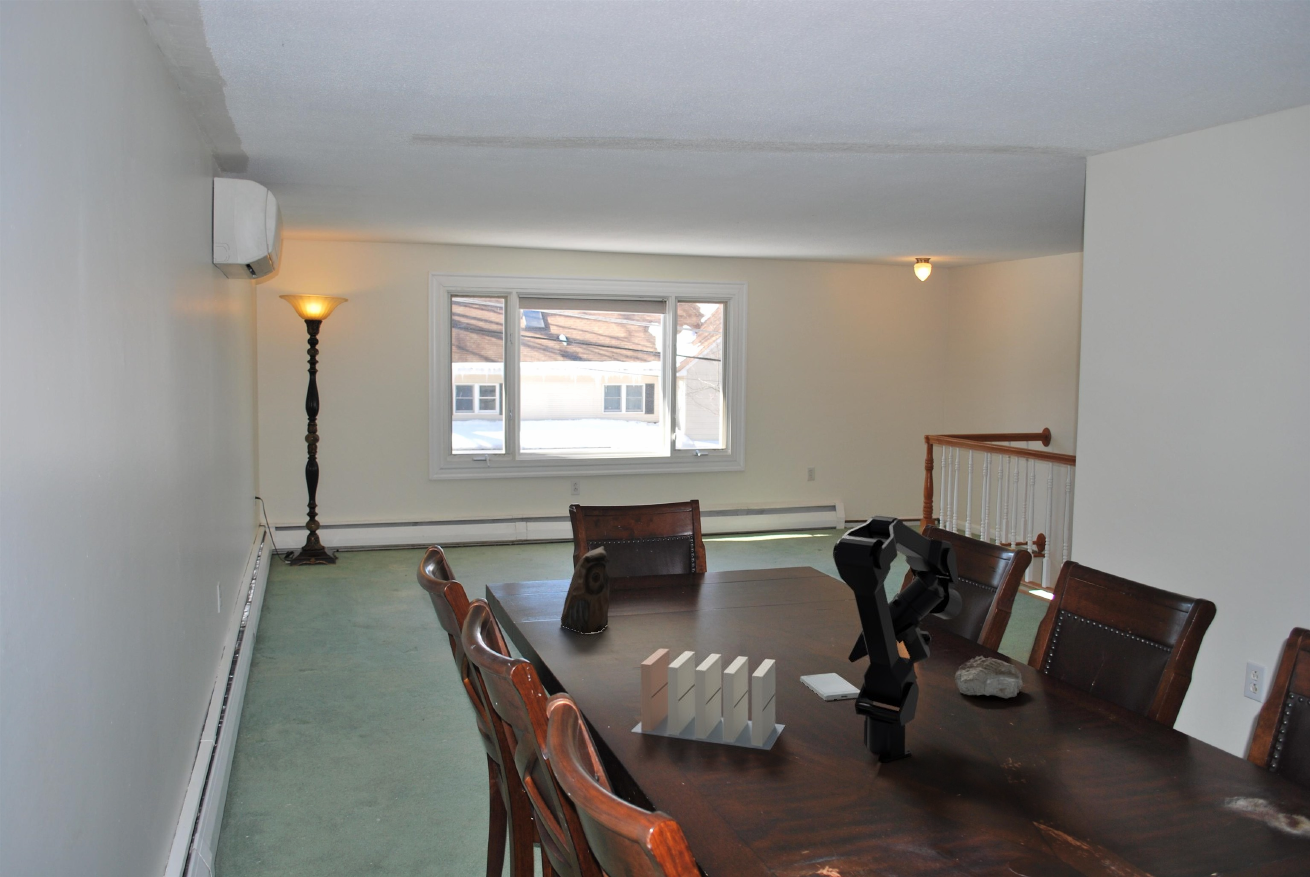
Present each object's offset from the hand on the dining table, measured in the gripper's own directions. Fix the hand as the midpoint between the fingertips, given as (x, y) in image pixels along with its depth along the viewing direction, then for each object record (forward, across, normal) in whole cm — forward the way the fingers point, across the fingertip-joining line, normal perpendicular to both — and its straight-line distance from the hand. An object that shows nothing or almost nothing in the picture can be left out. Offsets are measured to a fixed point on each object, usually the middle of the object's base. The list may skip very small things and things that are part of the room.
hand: (850, 660), depth 174 cm
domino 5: (+17, -13, +2) cm, 22 cm away
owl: (+58, +47, +43) cm, 86 cm away
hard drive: (+13, +18, -4) cm, 22 cm away
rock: (-9, +24, -26) cm, 37 cm away
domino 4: (+20, -13, +6) cm, 25 cm away
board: (+24, -13, +9) cm, 29 cm away
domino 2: (+27, -13, +13) cm, 33 cm away
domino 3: (+24, -13, +9) cm, 29 cm away
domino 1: (+31, -13, +16) cm, 37 cm away
